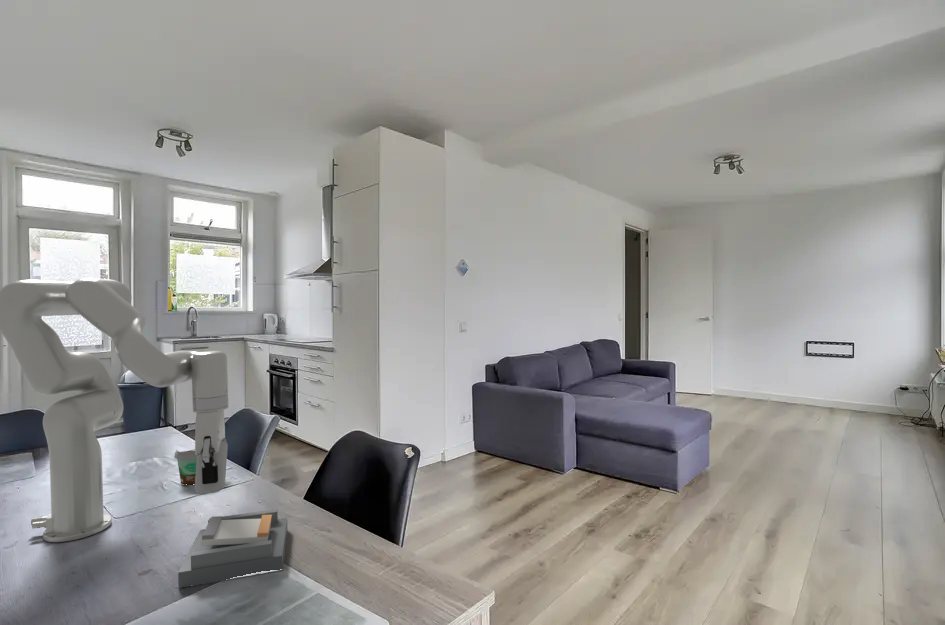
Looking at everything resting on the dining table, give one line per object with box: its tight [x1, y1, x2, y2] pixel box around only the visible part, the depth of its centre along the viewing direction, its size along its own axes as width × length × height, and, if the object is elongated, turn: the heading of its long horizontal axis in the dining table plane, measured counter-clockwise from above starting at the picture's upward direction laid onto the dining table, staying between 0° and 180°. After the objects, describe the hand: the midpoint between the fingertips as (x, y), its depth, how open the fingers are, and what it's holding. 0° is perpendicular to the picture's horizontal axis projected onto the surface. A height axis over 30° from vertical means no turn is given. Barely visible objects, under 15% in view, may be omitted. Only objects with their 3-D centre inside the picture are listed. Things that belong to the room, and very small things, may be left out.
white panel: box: [201, 515, 272, 546], centre depth 101 cm, size 12×9×2 cm
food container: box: [173, 448, 197, 486], centre depth 144 cm, size 12×6×10 cm, turn 117°
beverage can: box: [194, 437, 229, 494], centre depth 116 cm, size 6×6×12 cm
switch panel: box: [177, 509, 288, 589], centre depth 101 cm, size 18×18×6 cm
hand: (213, 477), depth 116 cm, fingers closed on beverage can, 6 cm apart
